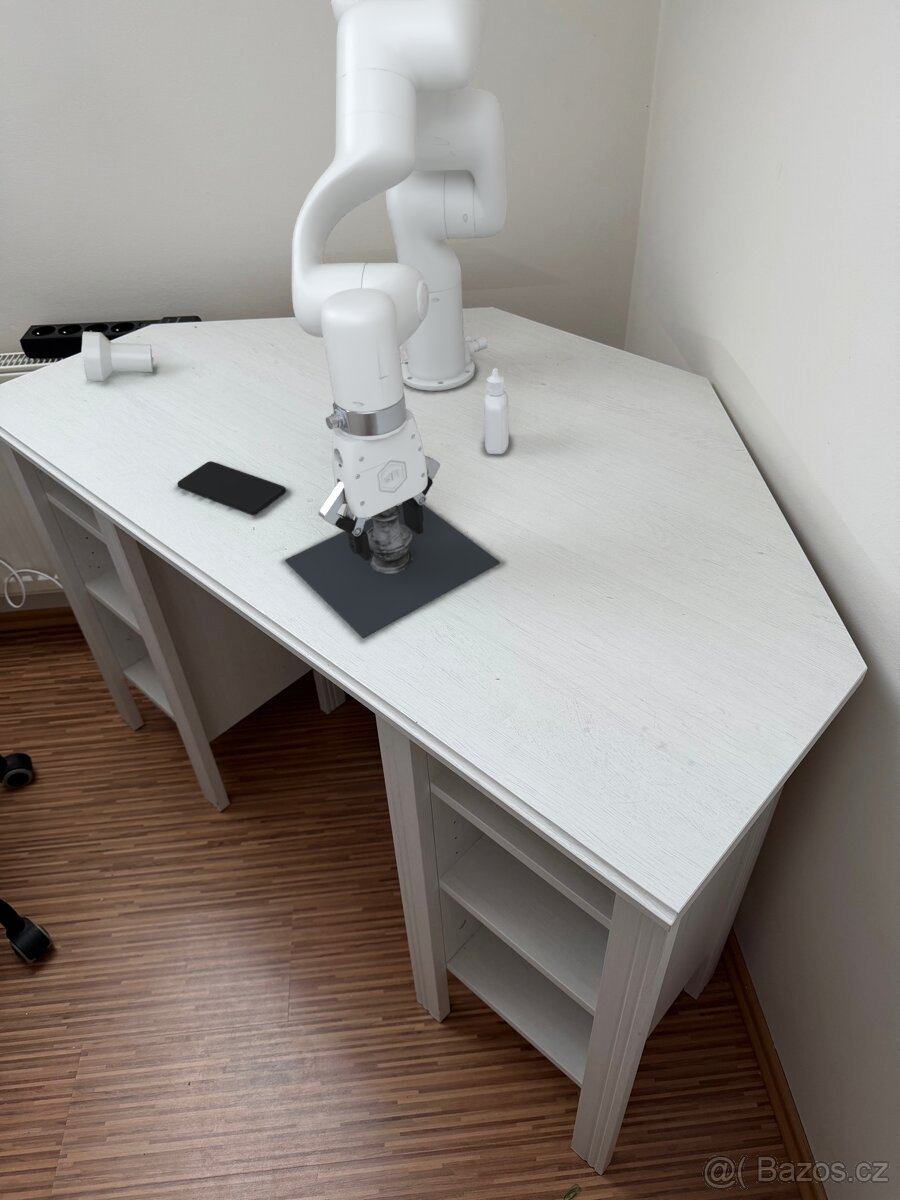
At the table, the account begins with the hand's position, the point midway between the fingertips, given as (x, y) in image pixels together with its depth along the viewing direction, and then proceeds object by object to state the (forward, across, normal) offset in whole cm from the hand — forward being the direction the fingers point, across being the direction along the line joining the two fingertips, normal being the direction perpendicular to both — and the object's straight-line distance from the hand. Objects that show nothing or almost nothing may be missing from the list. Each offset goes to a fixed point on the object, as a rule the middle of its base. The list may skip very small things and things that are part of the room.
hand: (388, 540), depth 101 cm
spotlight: (+4, -7, +74) cm, 74 cm away
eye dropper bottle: (+4, +27, +12) cm, 30 cm away
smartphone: (+3, -8, +28) cm, 29 cm away
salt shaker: (+3, 0, 0) cm, 3 cm away
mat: (+3, 0, 0) cm, 3 cm away
